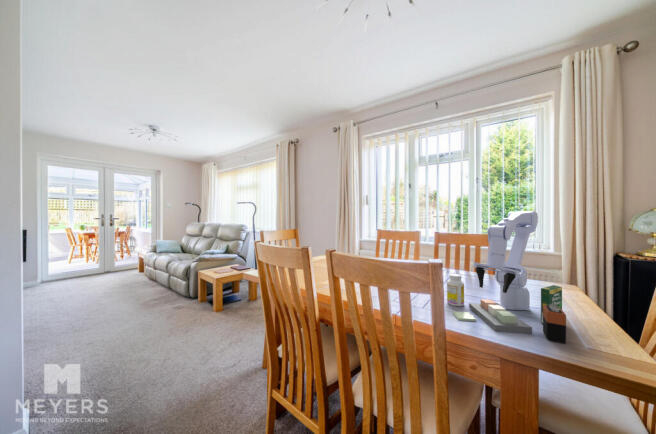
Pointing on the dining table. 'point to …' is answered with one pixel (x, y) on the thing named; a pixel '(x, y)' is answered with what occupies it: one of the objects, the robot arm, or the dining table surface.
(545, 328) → the battery
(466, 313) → the tile
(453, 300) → the supplement bottle
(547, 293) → the coffee box
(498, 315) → the sage button
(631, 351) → the dining table surface
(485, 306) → the terracotta button
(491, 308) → the cream button
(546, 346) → the dining table surface
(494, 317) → the button board
